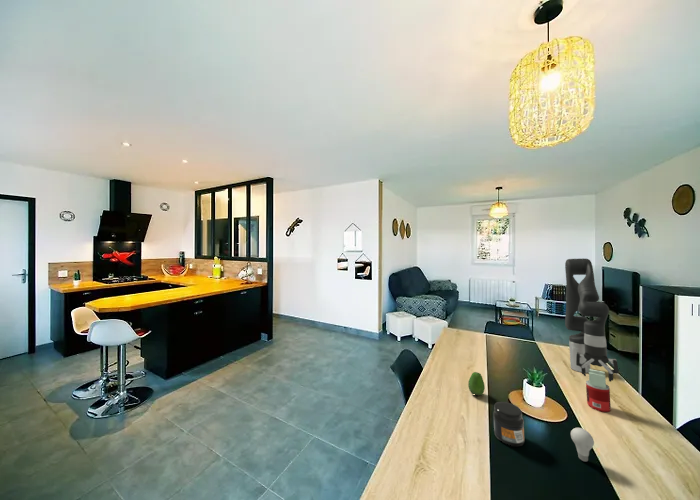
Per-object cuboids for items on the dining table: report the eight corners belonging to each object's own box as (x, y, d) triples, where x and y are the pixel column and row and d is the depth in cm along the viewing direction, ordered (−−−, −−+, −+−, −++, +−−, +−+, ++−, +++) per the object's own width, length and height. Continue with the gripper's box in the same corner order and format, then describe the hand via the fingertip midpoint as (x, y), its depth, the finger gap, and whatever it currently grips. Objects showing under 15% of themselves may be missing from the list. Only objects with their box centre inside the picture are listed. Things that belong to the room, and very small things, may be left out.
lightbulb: (567, 454, 91) (565, 424, 92) (582, 453, 92) (580, 422, 92) (584, 468, 85) (582, 436, 86) (600, 467, 86) (598, 434, 86)
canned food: (615, 413, 113) (614, 389, 113) (595, 411, 115) (593, 387, 115) (602, 403, 121) (600, 380, 121) (583, 402, 122) (581, 379, 123)
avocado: (487, 399, 127) (486, 376, 127) (470, 398, 129) (469, 375, 129) (482, 391, 135) (481, 368, 135) (466, 390, 136) (465, 368, 137)
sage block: (589, 380, 122) (588, 368, 122) (605, 383, 118) (604, 372, 118) (589, 384, 118) (588, 372, 118) (606, 388, 114) (605, 376, 114)
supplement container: (525, 452, 93) (524, 419, 94) (493, 441, 99) (492, 411, 99) (524, 434, 102) (522, 405, 102) (494, 426, 108) (493, 398, 108)
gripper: (615, 344, 116) (618, 379, 116) (575, 338, 126) (576, 371, 126) (617, 349, 111) (620, 386, 111) (574, 342, 121) (576, 376, 120)
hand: (597, 378), depth 118 cm, fingers open, 8 cm apart
